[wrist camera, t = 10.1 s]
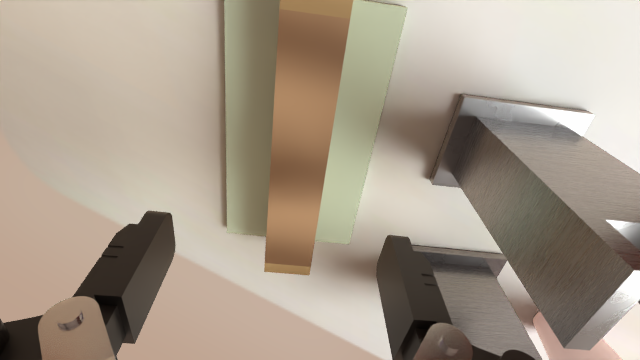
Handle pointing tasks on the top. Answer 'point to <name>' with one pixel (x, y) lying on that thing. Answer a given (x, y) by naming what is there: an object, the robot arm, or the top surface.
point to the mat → (258, 106)
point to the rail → (302, 125)
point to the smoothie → (599, 356)
